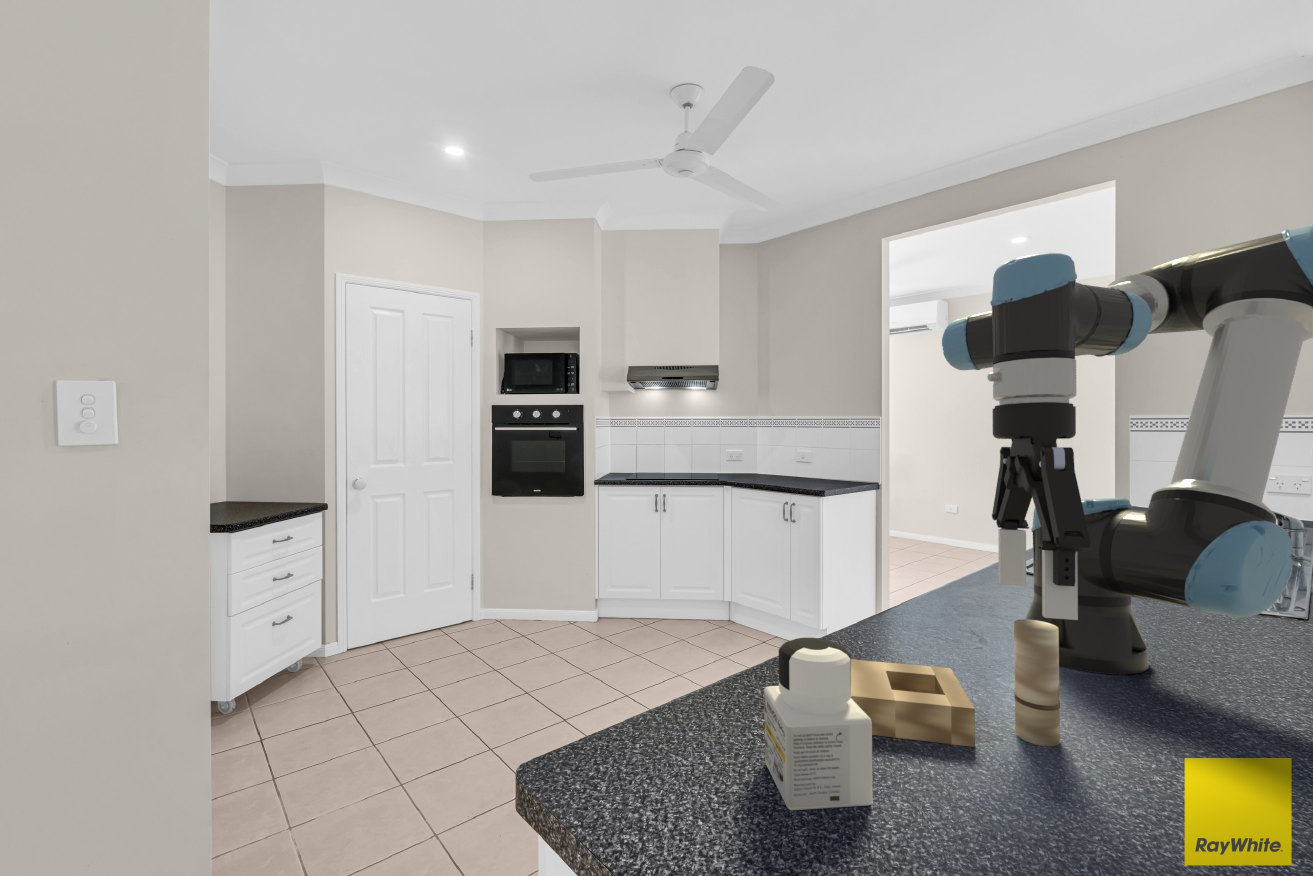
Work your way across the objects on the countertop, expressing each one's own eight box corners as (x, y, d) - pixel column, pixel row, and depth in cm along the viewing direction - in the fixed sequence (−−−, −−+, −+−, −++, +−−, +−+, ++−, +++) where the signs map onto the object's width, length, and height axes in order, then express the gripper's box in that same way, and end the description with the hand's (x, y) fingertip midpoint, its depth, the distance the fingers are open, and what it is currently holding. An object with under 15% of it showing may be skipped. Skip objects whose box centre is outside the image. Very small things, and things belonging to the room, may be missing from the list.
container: (763, 762, 57) (762, 632, 57) (838, 758, 58) (837, 629, 58) (788, 812, 49) (786, 662, 50) (874, 807, 50) (872, 658, 50)
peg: (1051, 729, 63) (1050, 620, 63) (1067, 749, 59) (1065, 633, 59) (1009, 725, 64) (1008, 618, 64) (1022, 744, 60) (1020, 629, 60)
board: (950, 700, 70) (950, 668, 70) (975, 747, 60) (974, 708, 60) (784, 683, 76) (784, 653, 76) (779, 723, 65) (779, 688, 65)
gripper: (964, 409, 75) (965, 572, 75) (1036, 393, 51) (1037, 633, 51) (1030, 409, 73) (1030, 575, 73) (1136, 391, 49) (1138, 641, 49)
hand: (1033, 599), depth 62 cm, fingers open, 13 cm apart
